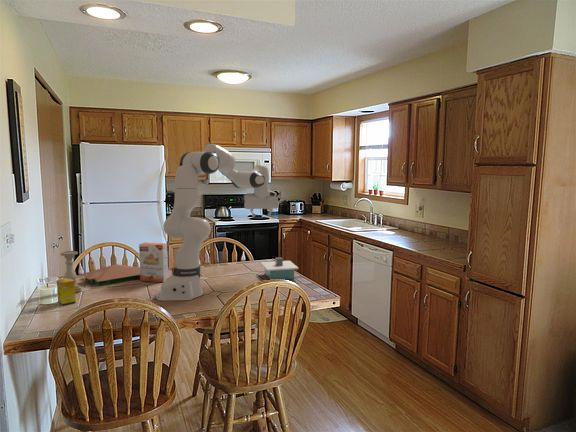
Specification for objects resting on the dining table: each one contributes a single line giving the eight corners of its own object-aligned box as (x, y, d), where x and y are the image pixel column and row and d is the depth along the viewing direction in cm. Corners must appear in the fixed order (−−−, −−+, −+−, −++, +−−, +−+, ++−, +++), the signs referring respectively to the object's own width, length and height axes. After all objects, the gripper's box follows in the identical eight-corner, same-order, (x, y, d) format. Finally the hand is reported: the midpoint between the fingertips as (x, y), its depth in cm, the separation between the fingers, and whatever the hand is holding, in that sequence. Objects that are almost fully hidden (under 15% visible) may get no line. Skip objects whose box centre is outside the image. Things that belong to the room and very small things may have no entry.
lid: (267, 271, 227) (267, 262, 227) (260, 263, 245) (260, 255, 244) (298, 269, 232) (298, 260, 231) (289, 261, 249) (289, 254, 249)
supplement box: (57, 302, 191) (56, 279, 190) (71, 300, 195) (70, 277, 194) (61, 306, 187) (60, 282, 185) (75, 303, 191) (74, 280, 189)
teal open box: (270, 280, 230) (270, 269, 230) (264, 274, 244) (264, 264, 243) (294, 278, 234) (294, 268, 233) (287, 272, 248) (287, 262, 247)
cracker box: (139, 281, 227) (138, 244, 225) (145, 278, 233) (144, 242, 231) (163, 282, 225) (162, 245, 222) (168, 279, 231) (167, 242, 228)
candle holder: (59, 291, 208) (57, 252, 206) (78, 288, 214) (76, 249, 211) (63, 295, 201) (61, 255, 199) (83, 292, 207) (80, 252, 205)
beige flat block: (80, 279, 232) (79, 265, 231) (138, 270, 253) (137, 257, 252) (92, 288, 214) (91, 273, 213) (153, 277, 236) (153, 263, 235)
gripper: (244, 193, 237) (244, 217, 239) (279, 193, 242) (279, 216, 244) (243, 192, 243) (243, 216, 245) (276, 192, 248) (276, 215, 250)
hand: (261, 216), depth 244 cm, fingers open, 8 cm apart
